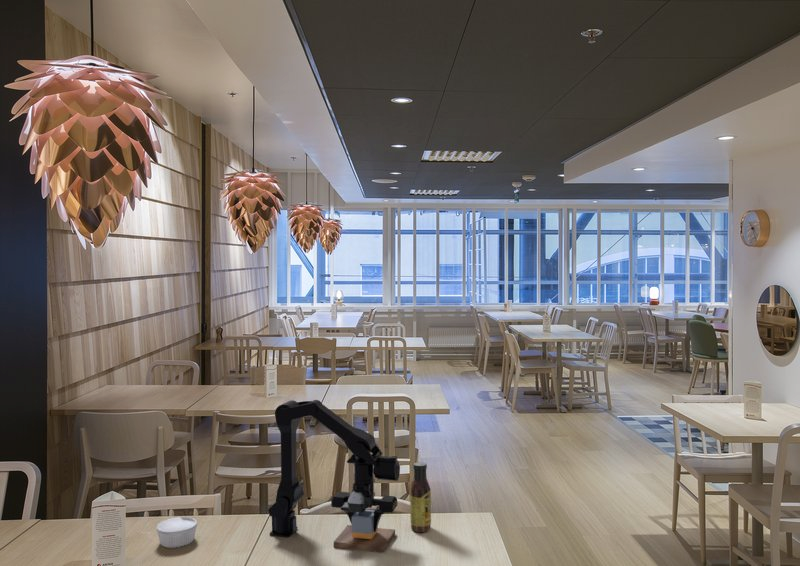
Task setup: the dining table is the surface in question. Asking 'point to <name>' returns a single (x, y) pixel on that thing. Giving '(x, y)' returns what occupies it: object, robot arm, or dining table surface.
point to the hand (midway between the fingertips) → (364, 530)
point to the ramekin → (176, 531)
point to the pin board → (365, 540)
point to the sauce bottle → (420, 499)
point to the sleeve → (363, 525)
